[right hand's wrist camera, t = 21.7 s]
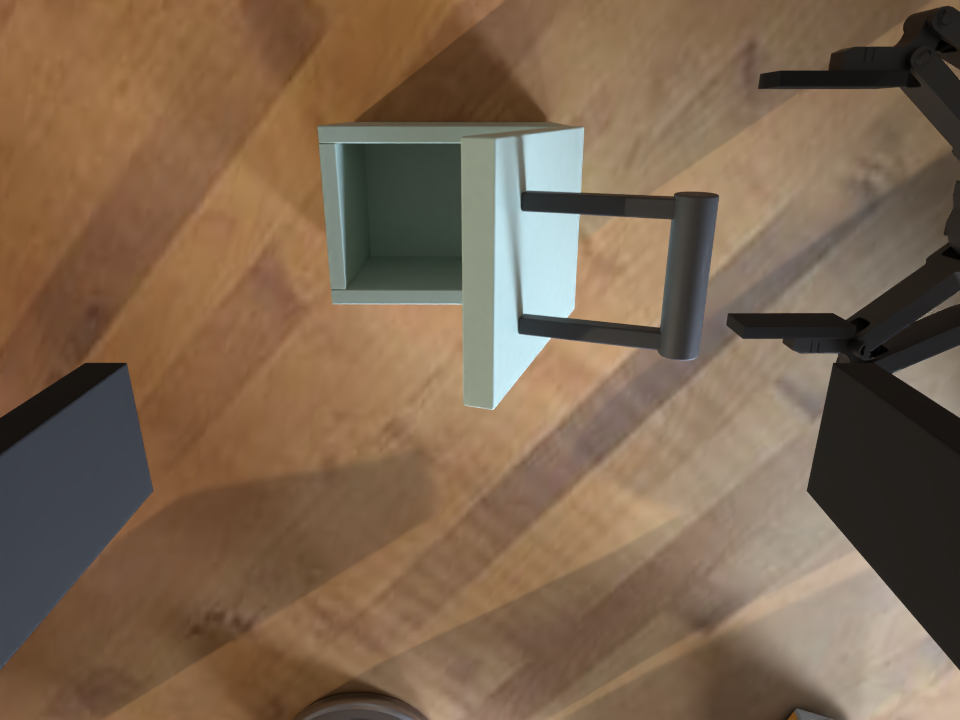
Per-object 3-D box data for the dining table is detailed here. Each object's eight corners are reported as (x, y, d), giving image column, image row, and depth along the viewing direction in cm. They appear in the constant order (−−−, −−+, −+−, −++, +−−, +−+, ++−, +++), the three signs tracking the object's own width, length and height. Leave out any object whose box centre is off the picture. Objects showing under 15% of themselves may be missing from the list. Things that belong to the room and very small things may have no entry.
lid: (462, 405, 24) (687, 441, 22) (460, 136, 21) (725, 140, 19) (552, 307, 37) (704, 322, 34) (560, 125, 33) (729, 127, 31)
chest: (361, 265, 46) (331, 304, 37) (351, 121, 43) (316, 125, 34) (546, 265, 46) (562, 304, 37) (551, 121, 43) (570, 125, 34)
